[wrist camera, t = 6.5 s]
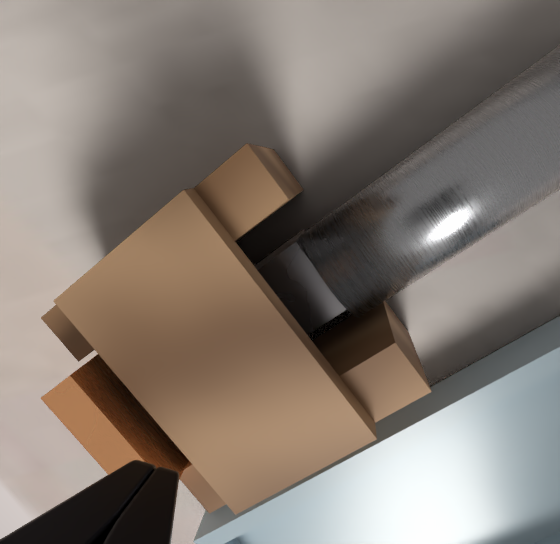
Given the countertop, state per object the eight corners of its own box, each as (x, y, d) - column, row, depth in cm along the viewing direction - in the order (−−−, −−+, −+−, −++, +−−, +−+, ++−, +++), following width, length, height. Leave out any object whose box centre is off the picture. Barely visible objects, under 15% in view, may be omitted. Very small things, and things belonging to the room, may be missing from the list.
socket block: (408, 332, 17) (437, 406, 11) (239, 434, 19) (201, 532, 14) (273, 149, 16) (239, 141, 10) (113, 281, 18) (22, 326, 13)
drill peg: (690, 60, 13) (821, 56, 10) (351, 286, 17) (368, 336, 14) (656, -46, 12) (792, -90, 9) (298, 221, 16) (303, 259, 13)
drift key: (360, 305, 16) (369, 377, 11) (201, 408, 19) (140, 511, 13) (288, 208, 16) (258, 231, 10) (133, 326, 18) (40, 397, 13)
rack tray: (687, 485, 16) (724, 520, 15) (312, 636, 21) (310, 675, 20) (569, 310, 15) (595, 327, 14) (205, 511, 20) (193, 541, 19)
